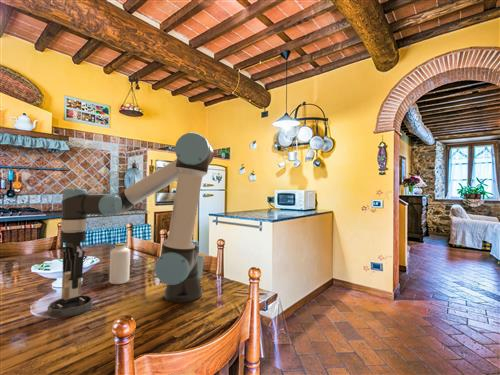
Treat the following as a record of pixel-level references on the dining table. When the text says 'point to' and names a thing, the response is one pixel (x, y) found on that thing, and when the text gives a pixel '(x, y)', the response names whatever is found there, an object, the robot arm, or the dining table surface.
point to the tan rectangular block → (66, 285)
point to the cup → (200, 266)
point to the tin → (70, 306)
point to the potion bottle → (119, 264)
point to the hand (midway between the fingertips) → (71, 295)
